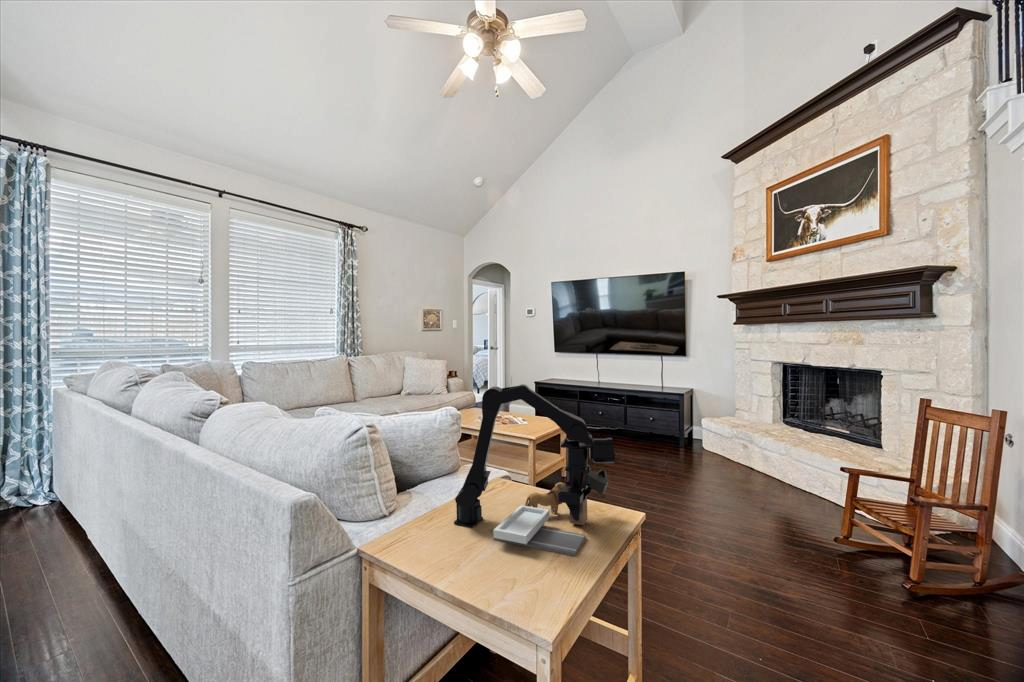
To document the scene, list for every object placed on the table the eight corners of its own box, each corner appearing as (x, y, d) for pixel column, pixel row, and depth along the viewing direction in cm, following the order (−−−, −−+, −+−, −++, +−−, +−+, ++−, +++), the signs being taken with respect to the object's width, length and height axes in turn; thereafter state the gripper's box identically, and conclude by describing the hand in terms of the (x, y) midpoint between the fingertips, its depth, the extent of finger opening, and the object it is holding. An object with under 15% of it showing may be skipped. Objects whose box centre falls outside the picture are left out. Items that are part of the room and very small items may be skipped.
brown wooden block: (569, 522, 115) (569, 501, 115) (573, 517, 119) (573, 496, 119) (583, 525, 113) (583, 503, 113) (587, 519, 117) (586, 498, 117)
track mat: (494, 539, 108) (493, 536, 108) (510, 524, 117) (510, 521, 117) (574, 556, 99) (574, 552, 99) (585, 538, 108) (585, 534, 108)
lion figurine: (564, 508, 127) (563, 479, 127) (570, 515, 122) (570, 484, 122) (518, 514, 124) (518, 484, 124) (523, 521, 118) (523, 490, 119)
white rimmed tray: (493, 543, 104) (493, 529, 104) (520, 517, 119) (520, 505, 119) (526, 550, 100) (526, 536, 100) (549, 522, 116) (549, 509, 116)
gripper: (597, 475, 104) (599, 536, 104) (612, 456, 121) (613, 509, 121) (556, 470, 109) (557, 529, 109) (576, 453, 126) (577, 503, 126)
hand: (578, 517), depth 116 cm, fingers closed on brown wooden block, 4 cm apart
